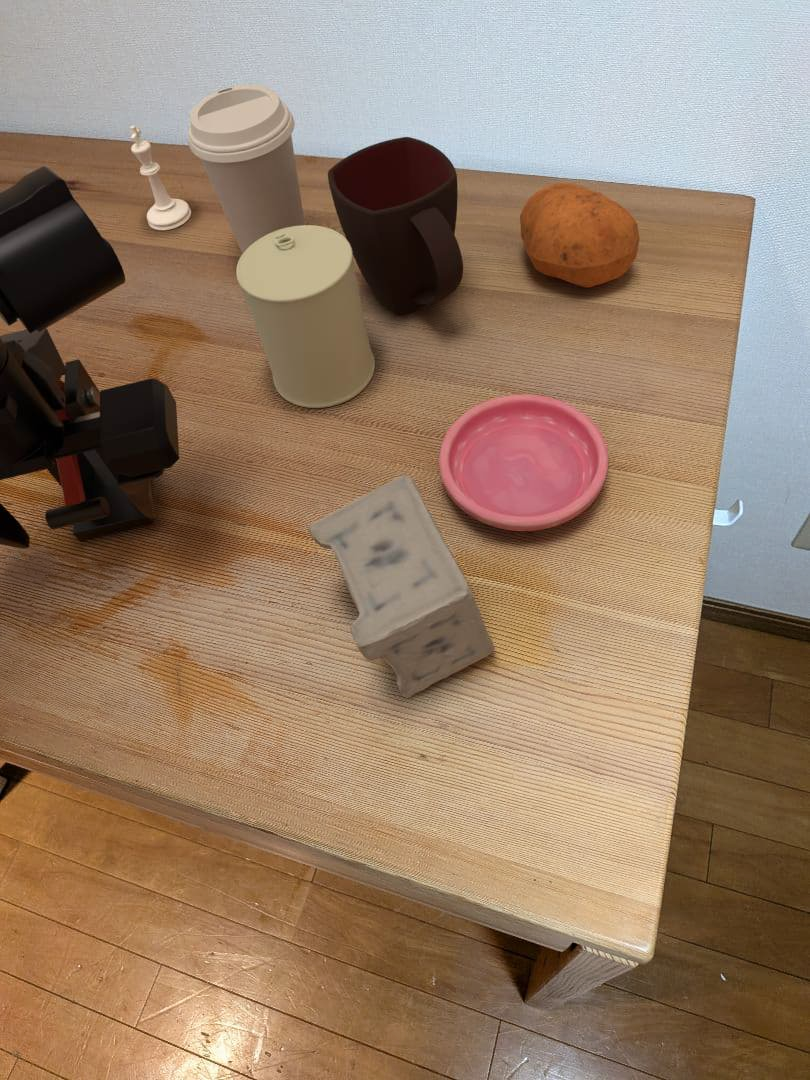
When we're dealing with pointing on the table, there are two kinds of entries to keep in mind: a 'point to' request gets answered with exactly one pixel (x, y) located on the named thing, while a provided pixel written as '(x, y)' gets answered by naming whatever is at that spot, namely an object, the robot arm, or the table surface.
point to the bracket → (96, 464)
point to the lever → (73, 492)
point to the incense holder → (404, 586)
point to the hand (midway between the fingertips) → (89, 527)
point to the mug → (400, 221)
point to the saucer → (523, 462)
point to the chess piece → (158, 190)
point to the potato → (578, 234)
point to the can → (308, 314)
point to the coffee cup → (249, 159)
